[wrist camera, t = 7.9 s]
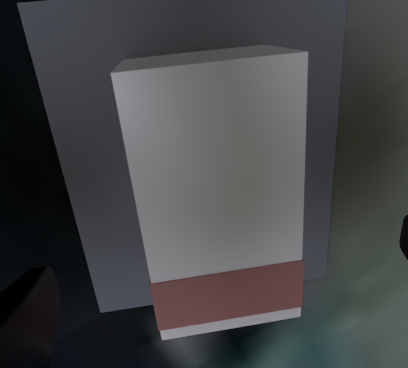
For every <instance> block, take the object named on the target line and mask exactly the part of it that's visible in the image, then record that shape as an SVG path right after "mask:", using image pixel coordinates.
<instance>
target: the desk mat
mask: <svg viewBox="0 0 408 368" xmlns="http://www.w3.org/2000/svg"><path fill="white" fill-rule="evenodd" d="M17 6H18V9H19V13H20V17H21V20H22V24H23V28H24V32H25V35H26V39H27V43H28V46H29V50H30V54H31V57H32V61H33V65H34V68H35V72H36V76H37V80H38V83H39V87H40V91H41V94H42V98H43V102H44V105H45V109H46V113H47V116H48V120H49V124H50V128H51V131H52V135H53V139H54V142H55V146H56V150H57V153H58V157H59V161H60V164H61V168H62V172H63V176H64V179H65V183H66V187H67V190H68V194H69V198H70V201H71V205H72V209H73V212H74V216H75V220H76V224H77V227H78V231H79V235H80V238H81V242H82V246H83V249H84V253H85V257H86V260H87V264H88V268H89V271H90V275H91V279H92V283H93V286H94V290H95V294H96V297H97V301H98V305H99V308H100V312H101V313H102V312H109V311H115V310H121V309H128V308H134V307H141V306H147V305H153V300H152V295H151V290H150V275H149V270H148V265H147V260H146V254H145V249H144V244H143V239H142V234H141V229H140V223H139V218H138V213H137V208H136V203H135V197H134V192H133V187H132V182H131V177H130V171H129V166H128V161H127V156H126V151H125V146H124V140H123V135H122V130H121V125H120V120H119V114H118V109H117V104H116V99H115V94H114V88H113V83H112V78H111V72H112V71H113V70H114V69H115V68H116V67H117V66H118V65H119V63H120V62H121V61H122V60H123V59H132V58H141V57H150V56H160V55H169V54H178V53H188V52H197V51H206V50H216V49H225V48H235V47H244V46H253V45H263V44H265V45H271V46H277V47H284V48H290V49H296V50H302V51H308V77H307V112H306V147H305V181H304V216H303V251H302V258H303V259H304V281H307V280H313V279H320V278H326V268H327V255H328V242H329V230H330V217H331V204H332V191H333V179H334V166H335V153H336V140H337V128H338V115H339V102H340V89H341V77H342V64H343V51H344V38H345V26H346V13H347V0H46V1H34V2H22V3H17Z"/></svg>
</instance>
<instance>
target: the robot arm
mask: <svg viewBox="0 0 408 368" xmlns="http://www.w3.org/2000/svg"><path fill="white" fill-rule="evenodd" d="M400 248H401V250H402V252H403V254H404V255H405V257H406V258H407V260H408V215H407V216H405V218H404V220H403V224H402V230H401V235H400ZM59 306H60V293H59V290H58V286H57V283H56V280H55V277H54V274H53V271H52V269H51V268H50V267H48V266H44V267H37V268H32V269H30V270H29V271H27V272H26V273H25V274H23V275H22V276H21V277H20V278H18V279H17V280H16V281H14V282H13V283H12V284H11V285H9V286H8V287H7V288H5V289H4V290H3V291H2V292H0V368H50V364H51V359H52V353H53V347H54V340H55V333H56V327H57V320H58V313H59Z"/></svg>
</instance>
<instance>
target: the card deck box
mask: <svg viewBox="0 0 408 368" xmlns="http://www.w3.org/2000/svg"><path fill="white" fill-rule="evenodd" d="M307 77H308V51H302V50H296V49H290V48H284V47H277V46H271V45H265V44H263V45H253V46H244V47H235V48H225V49H216V50H206V51H197V52H188V53H178V54H169V55H160V56H150V57H141V58H132V59H123V60H122V61H121V62H120V63H119V65H118V66H117V67H116V68H115V69H114V70H113V71H112V72H111V78H112V83H113V88H114V94H115V99H116V104H117V109H118V114H119V120H120V125H121V130H122V135H123V140H124V146H125V151H126V156H127V161H128V166H129V171H130V177H131V182H132V187H133V192H134V197H135V203H136V208H137V213H138V218H139V223H140V229H141V234H142V239H143V244H144V249H145V254H146V260H147V265H148V270H149V275H150V290H151V295H152V300H153V305H154V310H155V315H156V321H157V326H158V331H160V332H161V338H162V340H167V339H173V338H179V337H184V336H190V335H196V334H202V333H208V332H214V331H219V330H225V329H231V328H237V327H243V326H249V325H255V324H260V323H266V322H272V321H278V320H284V319H290V318H295V317H301V307H303V285H304V259H303V258H302V251H303V216H304V181H305V147H306V112H307Z"/></svg>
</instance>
